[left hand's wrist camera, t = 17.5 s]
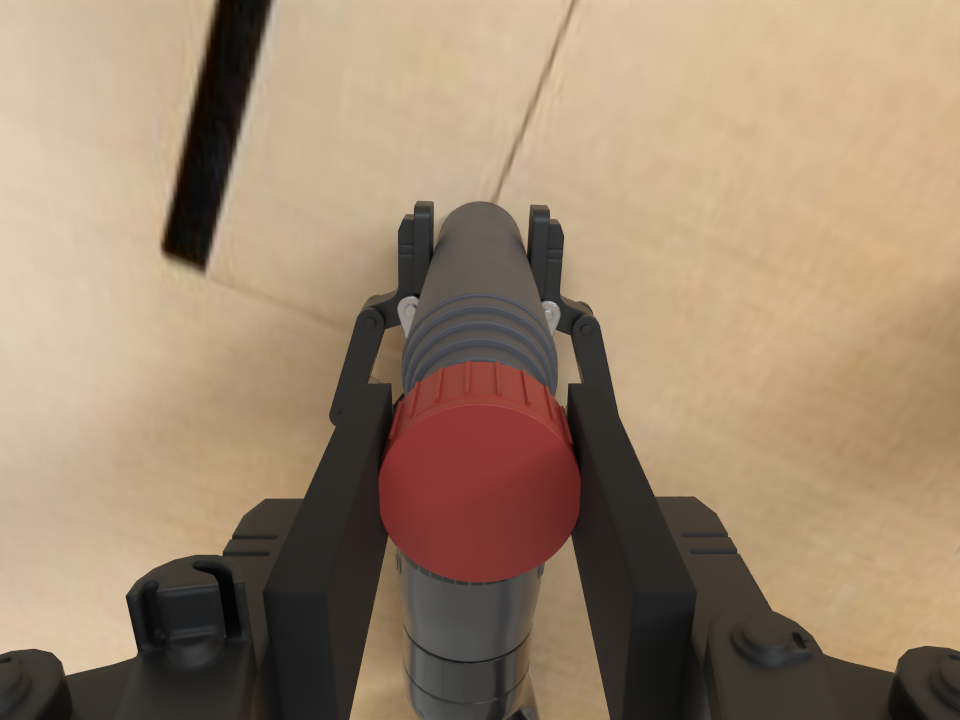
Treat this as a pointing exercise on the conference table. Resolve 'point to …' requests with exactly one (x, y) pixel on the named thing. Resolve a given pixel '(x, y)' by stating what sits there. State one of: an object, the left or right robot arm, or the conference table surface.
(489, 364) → the cap
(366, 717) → the conference table surface
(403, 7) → the conference table surface
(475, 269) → the bottle
